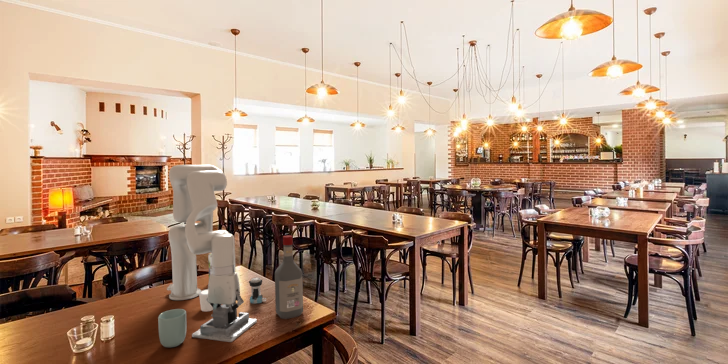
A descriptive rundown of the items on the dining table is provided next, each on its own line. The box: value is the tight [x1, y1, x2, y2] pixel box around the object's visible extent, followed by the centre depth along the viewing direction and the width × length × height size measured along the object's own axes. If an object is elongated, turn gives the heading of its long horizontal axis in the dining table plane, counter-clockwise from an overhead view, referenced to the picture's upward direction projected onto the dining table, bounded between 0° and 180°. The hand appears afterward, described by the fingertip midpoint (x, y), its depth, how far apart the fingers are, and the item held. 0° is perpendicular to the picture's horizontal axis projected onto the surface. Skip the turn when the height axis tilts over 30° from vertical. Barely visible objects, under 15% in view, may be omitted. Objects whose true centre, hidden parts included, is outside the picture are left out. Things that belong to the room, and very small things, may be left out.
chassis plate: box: [191, 311, 258, 343], centre depth 122 cm, size 15×15×4 cm
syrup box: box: [207, 252, 212, 279], centre depth 172 cm, size 6×6×14 cm
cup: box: [157, 308, 188, 348], centre depth 111 cm, size 8×8×10 cm
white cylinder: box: [198, 288, 213, 312], centre depth 139 cm, size 7×7×7 cm
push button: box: [248, 277, 267, 304], centre depth 145 cm, size 7×5×10 cm
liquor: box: [274, 234, 304, 320], centre depth 133 cm, size 9×9×30 cm
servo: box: [210, 304, 238, 327], centre depth 121 cm, size 4×9×6 cm, turn 166°
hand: (225, 320), depth 122 cm, fingers closed on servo, 4 cm apart
